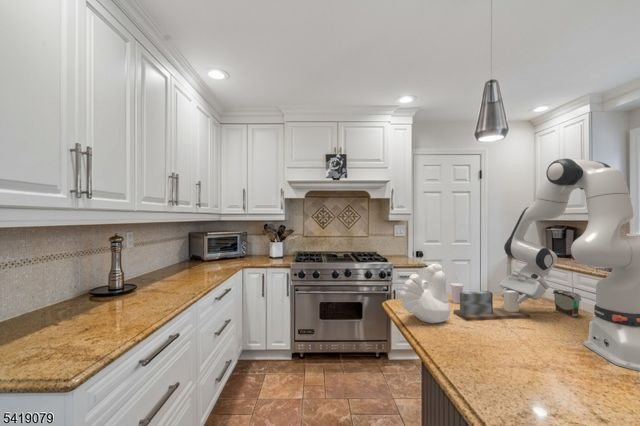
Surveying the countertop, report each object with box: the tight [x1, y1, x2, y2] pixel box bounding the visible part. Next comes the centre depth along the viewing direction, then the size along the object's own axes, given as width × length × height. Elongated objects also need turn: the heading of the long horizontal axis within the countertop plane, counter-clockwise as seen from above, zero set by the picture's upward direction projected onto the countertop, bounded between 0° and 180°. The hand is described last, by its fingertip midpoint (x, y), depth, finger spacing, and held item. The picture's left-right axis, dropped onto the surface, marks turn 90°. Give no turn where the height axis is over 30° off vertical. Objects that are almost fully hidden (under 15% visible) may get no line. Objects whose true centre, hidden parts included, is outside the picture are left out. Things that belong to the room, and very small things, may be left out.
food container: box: [552, 289, 582, 319], centre depth 131 cm, size 12×6×10 cm, turn 179°
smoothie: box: [450, 275, 464, 305], centre depth 149 cm, size 6×6×14 cm
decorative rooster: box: [400, 263, 451, 324], centre depth 124 cm, size 25×16×25 cm, turn 105°
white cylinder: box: [503, 290, 520, 312], centre depth 131 cm, size 5×3×9 cm, turn 97°
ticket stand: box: [453, 290, 532, 322], centre depth 130 cm, size 31×10×11 cm, turn 97°
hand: (510, 299), depth 131 cm, fingers open, 7 cm apart
